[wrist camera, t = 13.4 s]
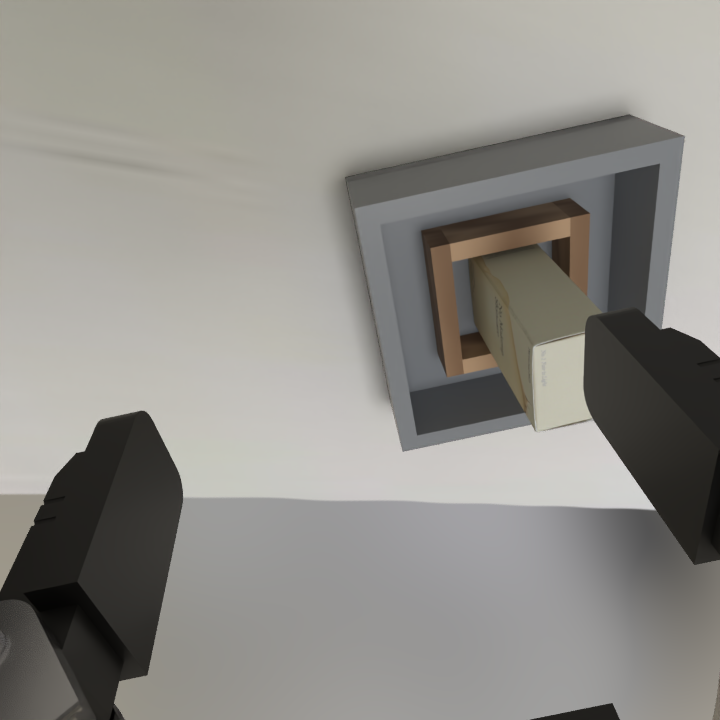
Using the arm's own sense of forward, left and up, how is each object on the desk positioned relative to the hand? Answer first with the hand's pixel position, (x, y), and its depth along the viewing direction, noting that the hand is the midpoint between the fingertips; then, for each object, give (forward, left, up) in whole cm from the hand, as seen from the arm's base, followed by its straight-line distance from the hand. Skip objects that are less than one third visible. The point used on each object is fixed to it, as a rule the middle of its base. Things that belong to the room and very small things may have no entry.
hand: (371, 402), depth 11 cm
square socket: (+10, -13, -28) cm, 33 cm away
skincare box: (+10, -13, -27) cm, 32 cm away
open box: (+10, -13, -28) cm, 33 cm away
